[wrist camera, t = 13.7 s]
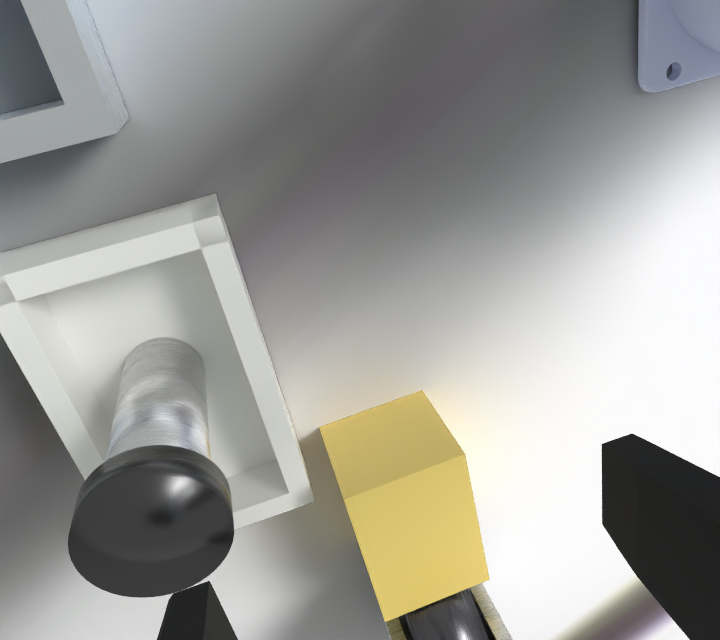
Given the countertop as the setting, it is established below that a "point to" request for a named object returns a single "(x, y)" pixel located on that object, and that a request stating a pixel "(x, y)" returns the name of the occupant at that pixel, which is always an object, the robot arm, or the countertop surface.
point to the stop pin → (155, 483)
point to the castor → (452, 619)
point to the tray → (148, 321)
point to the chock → (408, 502)
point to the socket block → (65, 85)
